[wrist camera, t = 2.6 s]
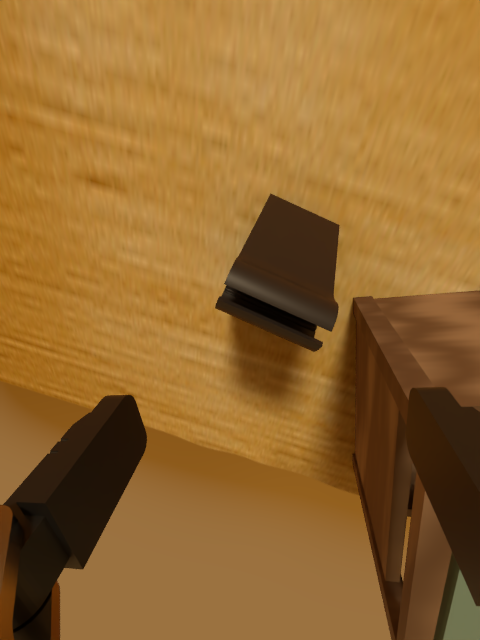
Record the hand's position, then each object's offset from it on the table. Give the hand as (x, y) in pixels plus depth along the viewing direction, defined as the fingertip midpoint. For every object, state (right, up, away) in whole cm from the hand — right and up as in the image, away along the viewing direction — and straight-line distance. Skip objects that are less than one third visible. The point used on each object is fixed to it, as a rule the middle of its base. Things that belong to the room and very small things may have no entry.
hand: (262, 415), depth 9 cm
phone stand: (+3, +8, +18) cm, 20 cm away
